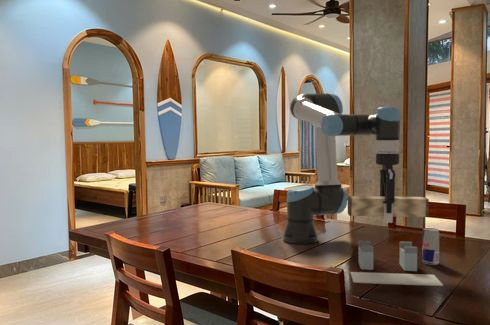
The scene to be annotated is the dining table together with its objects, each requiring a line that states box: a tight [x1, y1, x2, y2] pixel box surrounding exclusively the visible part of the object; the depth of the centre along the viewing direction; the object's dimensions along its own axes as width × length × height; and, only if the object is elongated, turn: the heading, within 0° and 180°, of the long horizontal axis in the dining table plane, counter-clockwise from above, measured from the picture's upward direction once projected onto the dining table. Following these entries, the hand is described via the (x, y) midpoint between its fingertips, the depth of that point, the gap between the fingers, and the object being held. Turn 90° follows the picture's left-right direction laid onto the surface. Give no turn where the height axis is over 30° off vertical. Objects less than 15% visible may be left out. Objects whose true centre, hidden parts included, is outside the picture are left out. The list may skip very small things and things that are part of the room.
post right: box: [399, 241, 418, 272], centre depth 138 cm, size 4×7×8 cm, turn 171°
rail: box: [347, 195, 430, 218], centre depth 138 cm, size 26×5×6 cm, turn 81°
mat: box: [350, 271, 444, 287], centre depth 127 cm, size 26×9×1 cm, turn 81°
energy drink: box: [421, 227, 440, 266], centre depth 143 cm, size 5×5×12 cm
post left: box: [357, 240, 375, 271], centre depth 140 cm, size 4×7×8 cm, turn 171°
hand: (386, 220), depth 139 cm, fingers closed on rail, 5 cm apart
